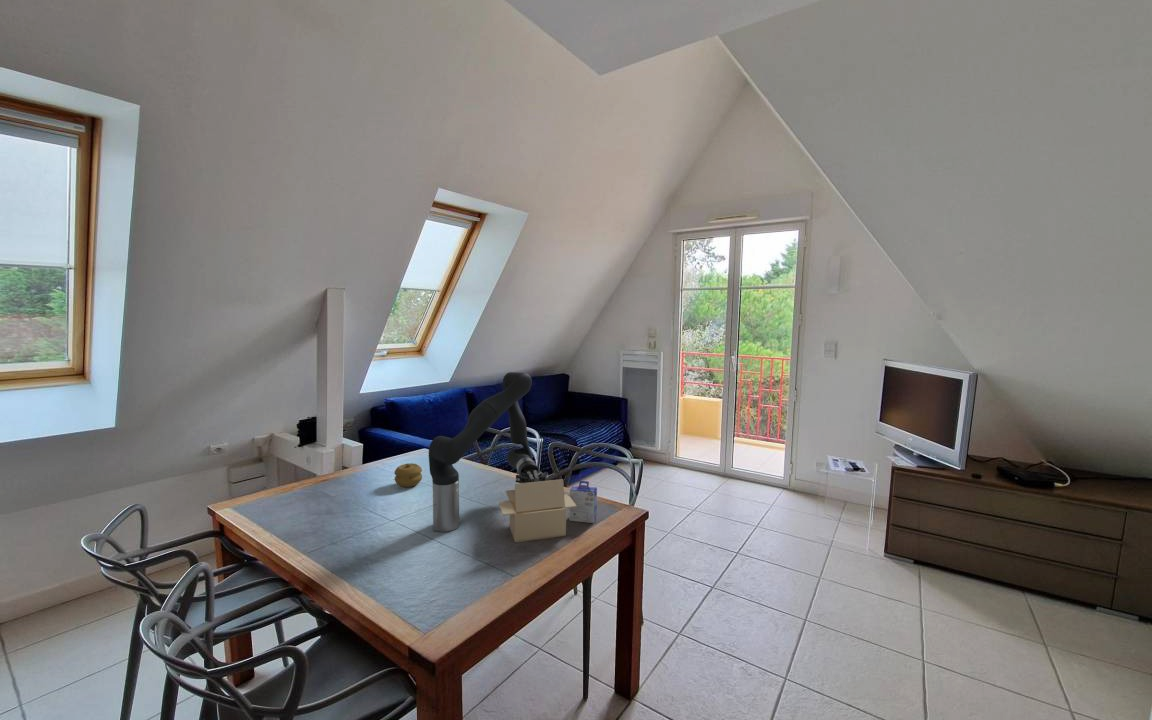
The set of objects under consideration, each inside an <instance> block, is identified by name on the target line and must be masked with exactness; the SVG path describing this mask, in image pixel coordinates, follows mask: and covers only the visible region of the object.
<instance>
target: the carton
mask: <svg viewBox="0 0 1152 720" xmlns="http://www.w3.org/2000/svg"><path fill="white" fill-rule="evenodd" d="M505 495H506V496H507V498H508V500H503V501H498V505H499V507H500V511H501V514H502V516H509V529H510V530H509V531H510V532H511V535H512V539H513V541H514V543H515V544H517V543H524V542H532V541H540V540H546V539H553V538H554V539H555V538H562V537H566V536H567V509H568V508H569V509H570V508H571V507H577V506H576V504H575V503H574V502H573V500H572V499H571V498H570V494H568V493H567V494H565V493H564V500H565V506H564V507H556V508H547V509H539V510H530V511H521V512H516V502H515V489H509V490H505Z"/></svg>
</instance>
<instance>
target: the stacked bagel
mask: <svg viewBox="0 0 1152 720" xmlns="http://www.w3.org/2000/svg"><path fill="white" fill-rule="evenodd" d="M422 471H423V469H422V467H421V466H420V465H419V464H418V463H417V464H416V463H413V462H412V463H408V462H407V463H404V464H400V465H399V466H398V467H396V469H395V470H394V481H395V483H396V484H397V485H398V486H399V487H402V488H412V487H414V486H417V485H418V484H419V483H420V482H422V481H421V480H422V479H423V474H422Z"/></svg>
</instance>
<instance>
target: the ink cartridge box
mask: <svg viewBox="0 0 1152 720" xmlns="http://www.w3.org/2000/svg"><path fill="white" fill-rule="evenodd" d="M589 483H590V482H589V481H585V480H579V484H578V485H572V486H571V488H570V490H569V496H570V498H571V499H572V500H573V502H574V503H575V504H576V506H577V507H571V508H569V517H568V520H569V521H570V522H579V523H580V522H582V523H590V524H595V521H596V520H597V519H598V517H597V516H598V515H597V514H598V512H597V509H598V505H597V504H598V494H597V493H598V488H597V487H595V486H590V484H589ZM585 484H586V485H585Z"/></svg>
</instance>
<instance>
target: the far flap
mask: <svg viewBox="0 0 1152 720" xmlns="http://www.w3.org/2000/svg"><path fill="white" fill-rule="evenodd" d="M564 485H565V484H564V479H563V478H562V479H552V480H551V479H550V480H546V481H539V482H529V483H514V490H515V502H516V512H521V511H530V510H539V509H547V508H556V507H564V506H565V500H564V495H565V486H564Z"/></svg>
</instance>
